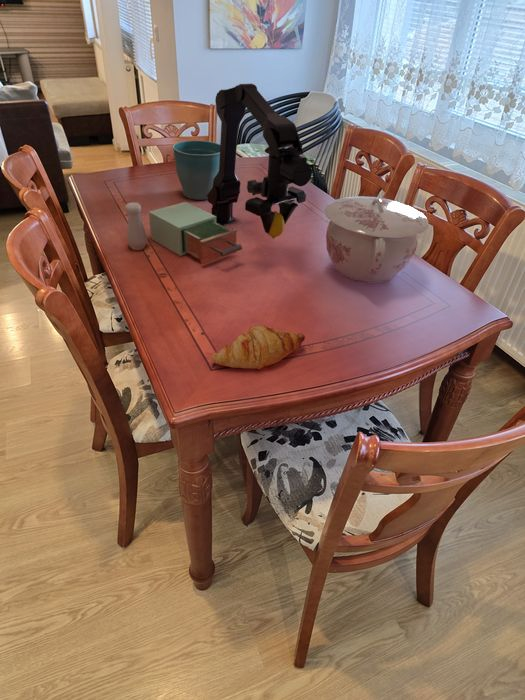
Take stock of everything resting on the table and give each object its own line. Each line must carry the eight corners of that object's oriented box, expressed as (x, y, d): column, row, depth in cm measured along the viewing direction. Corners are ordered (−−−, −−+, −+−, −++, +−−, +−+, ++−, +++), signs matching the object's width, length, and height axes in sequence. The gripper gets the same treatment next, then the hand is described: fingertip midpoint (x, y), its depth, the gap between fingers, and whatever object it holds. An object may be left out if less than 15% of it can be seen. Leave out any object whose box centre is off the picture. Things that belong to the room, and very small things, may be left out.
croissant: (217, 387, 96) (223, 372, 89) (202, 344, 100) (207, 327, 93) (306, 362, 104) (318, 347, 97) (290, 323, 107) (300, 306, 100)
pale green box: (216, 243, 142) (216, 216, 137) (180, 256, 134) (178, 227, 129) (186, 227, 150) (185, 201, 145) (151, 239, 142) (148, 211, 137)
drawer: (248, 258, 133) (249, 236, 129) (215, 272, 126) (215, 249, 122) (206, 236, 143) (206, 215, 139) (173, 247, 136) (172, 225, 132)
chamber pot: (354, 241, 149) (366, 175, 136) (430, 274, 134) (453, 204, 121) (295, 267, 133) (303, 195, 120) (375, 308, 118) (394, 230, 105)
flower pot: (233, 194, 177) (234, 147, 166) (204, 207, 164) (203, 157, 154) (196, 183, 184) (194, 137, 173) (165, 195, 171) (161, 146, 161)
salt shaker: (143, 252, 135) (138, 209, 127) (124, 250, 135) (118, 206, 127) (151, 244, 139) (146, 201, 131) (132, 241, 140) (127, 199, 132)
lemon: (276, 244, 131) (279, 216, 126) (260, 238, 133) (261, 211, 128) (286, 237, 135) (289, 210, 130) (270, 232, 137) (272, 205, 132)
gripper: (280, 160, 133) (276, 213, 142) (231, 172, 122) (230, 229, 131) (310, 171, 127) (303, 225, 136) (261, 184, 116) (258, 242, 125)
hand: (274, 230), depth 132 cm, fingers closed on lemon, 5 cm apart
